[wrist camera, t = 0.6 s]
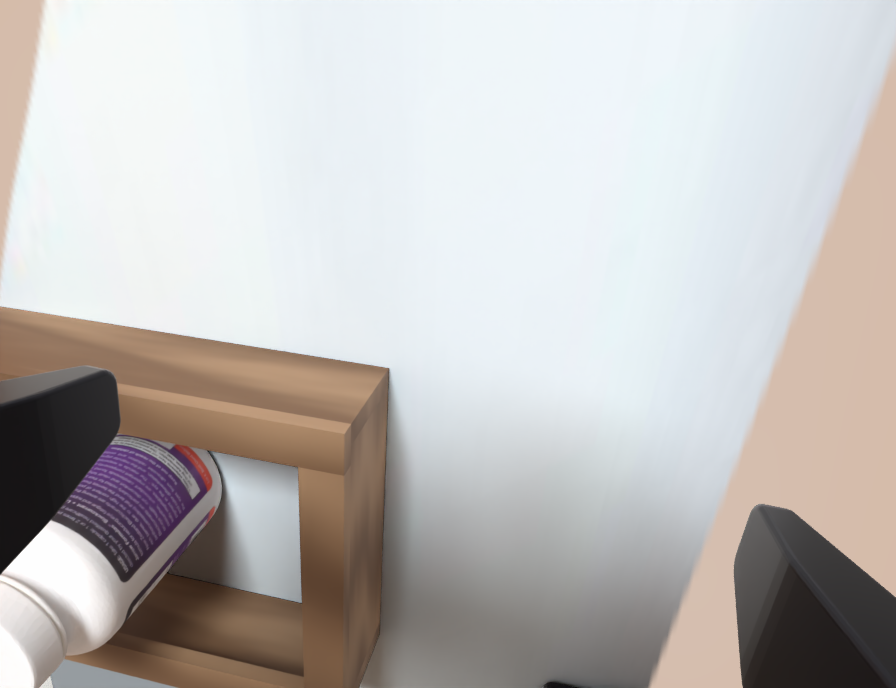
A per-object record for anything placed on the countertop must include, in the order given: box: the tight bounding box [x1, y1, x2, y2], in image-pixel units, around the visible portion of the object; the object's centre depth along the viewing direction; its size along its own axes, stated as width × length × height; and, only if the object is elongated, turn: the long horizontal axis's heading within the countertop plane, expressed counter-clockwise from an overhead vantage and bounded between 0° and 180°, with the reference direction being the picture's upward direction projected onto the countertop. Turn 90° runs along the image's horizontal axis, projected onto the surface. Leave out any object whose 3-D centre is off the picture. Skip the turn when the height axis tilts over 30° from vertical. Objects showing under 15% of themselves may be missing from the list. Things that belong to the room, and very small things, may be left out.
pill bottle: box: [0, 433, 222, 688], centre depth 24 cm, size 5×5×10 cm
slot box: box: [0, 307, 389, 688], centre depth 26 cm, size 13×19×5 cm
